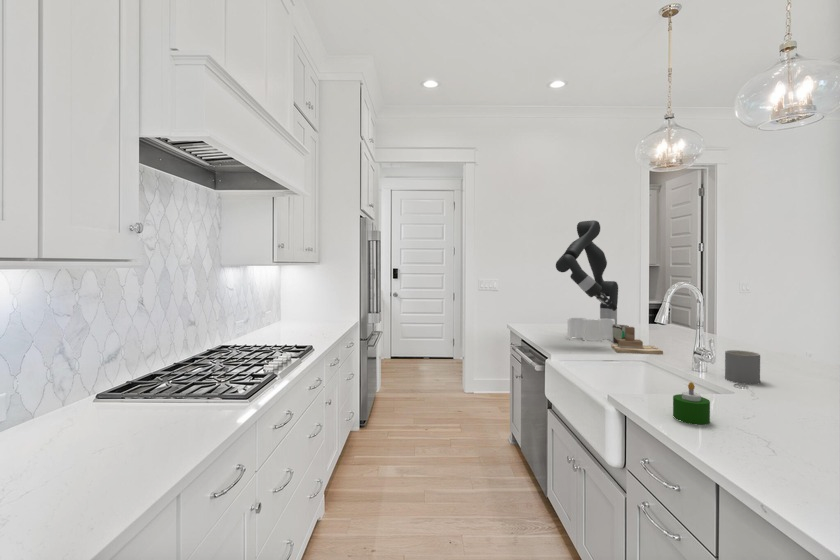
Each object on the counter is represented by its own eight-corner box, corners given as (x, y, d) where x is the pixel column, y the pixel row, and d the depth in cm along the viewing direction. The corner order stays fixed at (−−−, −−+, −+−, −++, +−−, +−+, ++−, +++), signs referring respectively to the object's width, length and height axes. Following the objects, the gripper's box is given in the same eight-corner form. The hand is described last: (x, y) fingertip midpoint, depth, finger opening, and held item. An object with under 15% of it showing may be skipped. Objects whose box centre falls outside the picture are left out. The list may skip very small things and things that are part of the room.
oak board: (611, 347, 214) (611, 344, 214) (654, 348, 209) (654, 345, 209) (617, 352, 200) (617, 349, 200) (663, 354, 195) (663, 351, 195)
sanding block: (617, 345, 209) (617, 326, 209) (639, 346, 207) (639, 326, 207) (620, 348, 204) (620, 327, 203) (642, 348, 201) (642, 328, 201)
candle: (675, 411, 117) (675, 376, 117) (711, 418, 112) (711, 381, 112) (670, 420, 111) (670, 382, 110) (708, 427, 105) (708, 388, 105)
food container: (634, 346, 216) (634, 327, 216) (622, 346, 217) (622, 327, 216) (623, 342, 229) (623, 324, 229) (612, 342, 229) (612, 324, 229)
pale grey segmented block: (613, 339, 238) (613, 318, 238) (615, 342, 229) (615, 320, 228) (567, 337, 246) (567, 317, 246) (567, 340, 237) (567, 319, 237)
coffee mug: (763, 385, 142) (763, 356, 142) (727, 382, 147) (727, 354, 147) (754, 376, 154) (754, 349, 154) (721, 373, 159) (721, 347, 159)
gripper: (597, 281, 202) (623, 304, 200) (592, 280, 216) (616, 302, 214) (586, 292, 204) (611, 315, 201) (581, 290, 218) (605, 312, 215)
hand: (613, 309), depth 208 cm, fingers open, 8 cm apart
